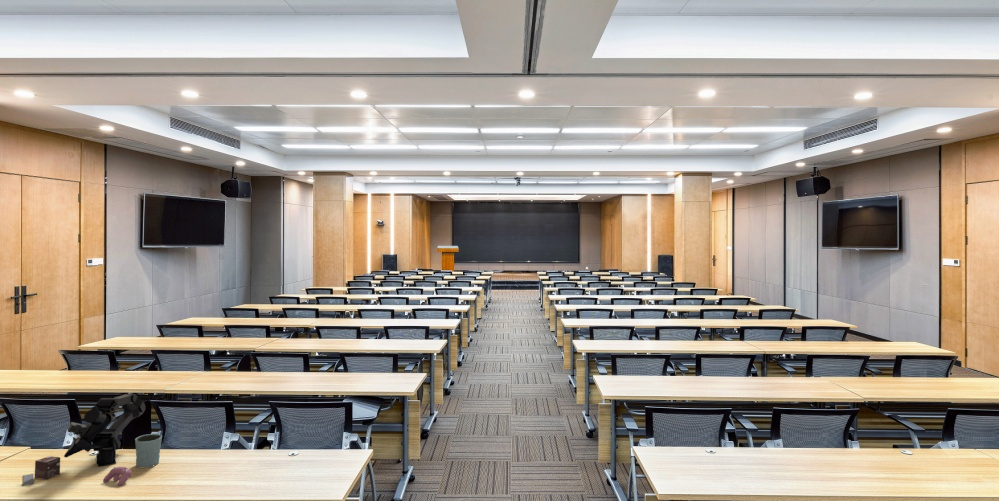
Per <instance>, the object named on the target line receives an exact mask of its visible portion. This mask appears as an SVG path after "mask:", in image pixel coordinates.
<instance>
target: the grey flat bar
mask: <svg viewBox="0 0 999 501" xmlns="http://www.w3.org/2000/svg"><path fill="white" fill-rule="evenodd" d="M22 477H23V478H22V479H23V480H22V483H23V484H22V487H24V486H30V485H33V484H34V483H35V482H34V479H35V478H34V473H30V474H25V475H23V476H22Z"/></svg>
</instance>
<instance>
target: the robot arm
mask: <svg viewBox="0 0 999 501" xmlns="http://www.w3.org/2000/svg"><path fill="white" fill-rule="evenodd" d="M120 407H121V410H122V411H123V413H122V414H121V415H120V416H119V417H118V418H117V415H116V414H115V413H114V412H116V411H118V409H119V408H120ZM146 409H147V408H146V404H145V401H144V400H142V399H141V398H139V397H138V395H137V394H135V393H125V394H123V395H119V396H115V397H113V398H112V397H103V398H100V399H99V400H98V401H97V402H96V403H95V404H94V406H92V407H91V409H89V410H88V411H87V412H85V414H84V416H83V419H84V422H86V423H87V424H86V425H85V424H82V423H78V422H73V421H71V422H70V424H69V426H67V432H68V433H70V434H71V433H73V435H75V437H74V436H73V437H72V443H71V445H70V446H69V448H68V449H67V451H66V452H65V453H64V455H63V457H64V458H68V457H70V456H71V457H72V456H73V455H75V454H78V453H79V452H81V451H82V452H83V451H85V452H87V453H89V452H90V451H91V450H92V449H93V452H96V454H95V464H96V465H97V467H105V466H109V465H110V466H111V465H114V464H117V461H116V459H117V458H116V456H117V455H116V452H117V450H120V447H121V441H120V439H118V435H120V434H121V433H122V431H124V429H125V428H126V427H127V426H128V424H130V422H131V421H132V420H133V419H135V418H136V419H137V418H138V417H140V416H142V415H143V414H144V412H145V411H146ZM112 422H113V423H112ZM111 423H112V424H111ZM110 424H111V426H109V425H110ZM108 426H109V428H107V427H108Z"/></svg>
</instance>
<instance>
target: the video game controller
mask: <svg viewBox="0 0 999 501" xmlns="http://www.w3.org/2000/svg"><path fill="white" fill-rule="evenodd" d="M131 476H132V470H131V469H129V468H128V467H126V466H113V468H112V469H111V470H110V471H109V472H108V473H107V474H106V475H105V476H104V478H103V480H102V482H103V483H105V484H106V483H108V482H109V481H111V480H113V481H114V482H118V483H117V485H118V486H119V487H121V486H123V485H124V484H125V483H126V482H128V480H129V479H130V477H131Z"/></svg>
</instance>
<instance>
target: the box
mask: <svg viewBox="0 0 999 501" xmlns="http://www.w3.org/2000/svg"><path fill="white" fill-rule="evenodd" d="M59 475H61V457H60V456H52V455H50V456H47V457H42V458H40V459H37V460H35V462H34V479H37V480H50V479H52V478H55V477H57V476H59Z"/></svg>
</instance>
